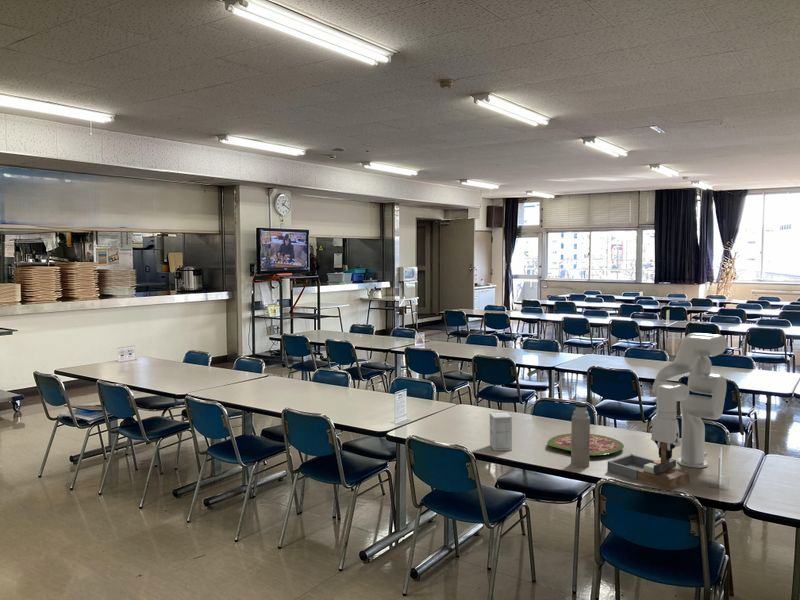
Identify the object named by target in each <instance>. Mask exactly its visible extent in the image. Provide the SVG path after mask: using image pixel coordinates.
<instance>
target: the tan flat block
mask: <svg viewBox="0 0 800 600" xmlns="http://www.w3.org/2000/svg"><path fill="white" fill-rule="evenodd" d="M636 481H639V482H643V483H645V484H648V485H649V484H650V485H652V486H655V487H658V488H661V489H665V490H668V491H669V490H673V489H674V488H676V487H679V486H681V485H684V484H686V483H689V482H690V471H687V470H684V469H680V468H676V467H675V468H672V469H669V470H667V471H664V472H662V473H659V474H652V473H649V472H646V471H644V469H642V470H639V471H638V475H637V480H636Z"/></svg>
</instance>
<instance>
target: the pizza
mask: <svg viewBox="0 0 800 600" xmlns="http://www.w3.org/2000/svg"><path fill="white" fill-rule="evenodd" d="M546 444H547V446H549V447H552V448H556V449H560V450H564V451H566V452H568V451H569V453H571V433H563V434H557V435H555V436H553V437H550V438H549V439H548V441H547V443H546ZM624 448H625V445H624V444H623V442H621V441H620V440H619V439H615V438H613V437H610V436H606V435H600V434H594V433H590V449H589V457H590V456H591V457H592V456H593V457H594V456H595V457H596V456H604V455H609V454H610V455H611V454H614V453H617V452H620V451H621V450H623V449H624Z"/></svg>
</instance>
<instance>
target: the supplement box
mask: <svg viewBox="0 0 800 600" xmlns="http://www.w3.org/2000/svg"><path fill="white" fill-rule="evenodd" d="M512 419H513V418H512V416H511V415H510V414H509V412H490V413H489V446H490V448H491V447H492V448H493V449H494V450H506V451H512V450H513V430H512V429H513V427H512V426H513V425H512V424H513V421H512ZM492 448H491V449H492ZM493 449H492V450H493Z"/></svg>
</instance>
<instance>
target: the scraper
mask: <svg viewBox="0 0 800 600" xmlns="http://www.w3.org/2000/svg"><path fill="white" fill-rule="evenodd" d="M666 450H667V443H664V442H661V458H660V460H661V463H659V464H657V465H654V472H653V473H656V474H659V473H662V472H664V471H667V470H669V469H672V468H676V467H677V459H673V458H671V459H668V460H667V459H666Z"/></svg>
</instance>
